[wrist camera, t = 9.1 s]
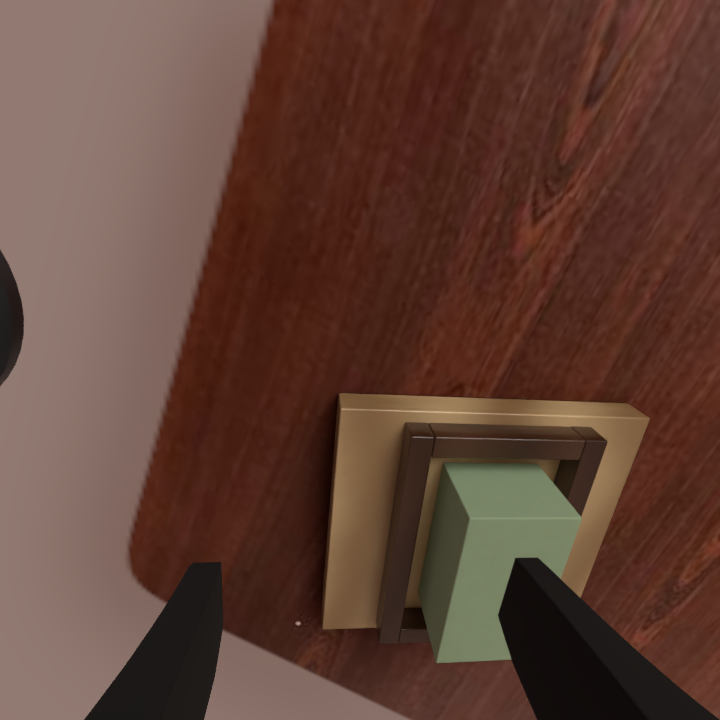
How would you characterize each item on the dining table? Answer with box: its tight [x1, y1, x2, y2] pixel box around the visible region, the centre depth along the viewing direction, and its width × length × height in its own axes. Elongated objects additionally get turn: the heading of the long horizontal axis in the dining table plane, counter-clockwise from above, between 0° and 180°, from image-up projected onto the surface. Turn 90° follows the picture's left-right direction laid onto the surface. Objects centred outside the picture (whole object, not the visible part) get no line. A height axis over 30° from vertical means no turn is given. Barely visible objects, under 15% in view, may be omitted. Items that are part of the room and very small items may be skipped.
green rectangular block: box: [418, 462, 582, 663], centre depth 19 cm, size 4×8×4 cm, turn 175°
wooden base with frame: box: [322, 393, 649, 644], centre depth 21 cm, size 14×13×3 cm
